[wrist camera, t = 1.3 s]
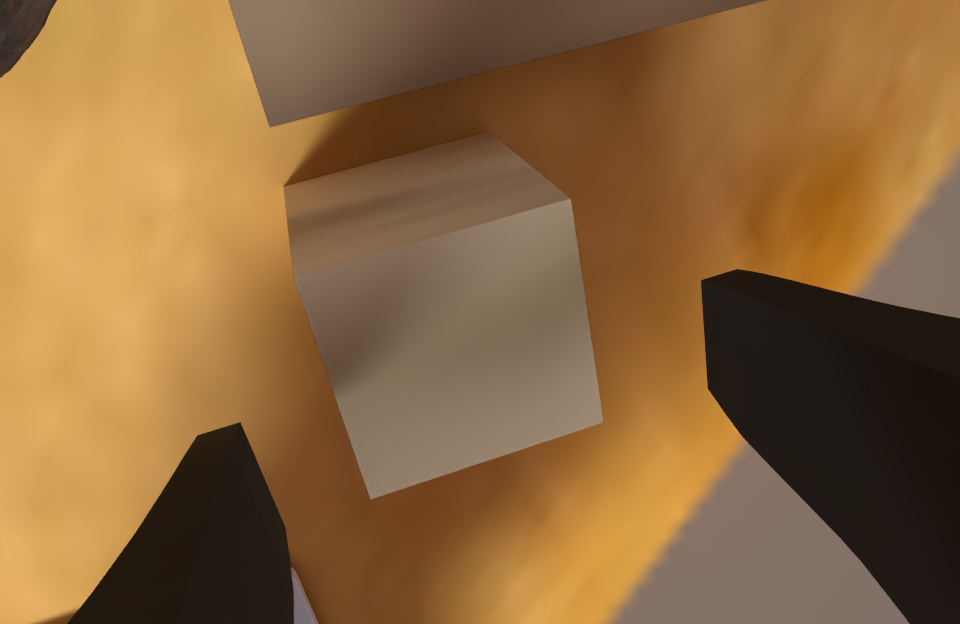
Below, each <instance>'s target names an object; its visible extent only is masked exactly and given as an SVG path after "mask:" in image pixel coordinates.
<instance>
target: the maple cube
mask: <svg viewBox="0 0 960 624" xmlns="http://www.w3.org/2000/svg"><path fill="white" fill-rule="evenodd" d="M283 189H284V198H285V206H286V215H287V224H288V232H289V241H290V250H291V258H292V267H293V275H294V280H295V283H296V286H297V288H298V291H299V294H300V297H301V300H302V303H303V306H304V309H305V312H306V314H307V317H308V320H309V323H310V326H311V329H312V332H313V335H314V338H315V341H316V343H317V346H318V349H319V352H320V355H321V358H322V361H323V364H324V367H325V369H326V372H327V375H328V378H329V381H330V384H331V387H332V390H333V393H334V395H335V398H336V401H337V404H338V407H339V410H340V413H341V416H342V419H343V422H344V424H345V427H346V430H347V433H348V436H349V439H350V442H351V445H352V448H353V450H354V453H355V456H356V459H357V462H358V465H359V468H360V471H361V474H362V477H363V479H364V482H365V485H366V488H367V491H368V494H369V497H370V500H371V499H374V498H377V497H380V496H383V495H386V494H389V493H392V492H395V491H398V490H401V489H404V488H407V487H410V486H413V485H416V484H419V483H422V482H425V481H428V480H431V479H434V478H438V477H441V476H444V475H447V474H450V473H453V472H456V471H459V470H462V469H465V468H468V467H471V466H474V465H477V464H480V463H483V462H486V461H489V460H492V459H495V458H498V457H501V456H504V455H507V454H510V453H513V452H516V451H519V450H522V449H525V448H528V447H531V446H534V445H537V444H540V443H543V442H546V441H549V440H552V439H555V438H558V437H562V436H565V435H568V434H571V433H574V432H577V431H580V430H583V429H586V428H589V427H592V426H595V425H598V424H601V423H604V422H603V415H602V408H601V401H600V394H599V388H598V381H597V374H596V367H595V360H594V353H593V347H592V340H591V333H590V326H589V319H588V312H587V306H586V299H585V292H584V285H583V278H582V271H581V265H580V258H579V251H578V244H577V237H576V231H575V224H574V217H573V210H572V203H571V198H570V197H568V196H567V195H566V194H565V193H564V192H562V191H561V190H560V189H559V188H557V187H556V186H555V185H554V184H553V183H551V182H550V181H549V180H548V179H546V178H545V177H544V176H543V175H542V174H540V173H539V172H538V171H537V170H535V169H534V168H533V167H532V166H531V165H529V164H528V163H527V162H526V161H524V160H523V159H522V158H521V157H520V156H518V155H517V154H516V153H515V152H514V151H512V150H511V149H510V148H509V147H507V146H506V145H505V144H504V143H503V142H501V141H500V140H499V139H498V138H496V137H495V136H494V135H493V134H492V133H490V132H489V131H488V132H485V133H481V134H477V135H473V136H470V137H466V138H462V139H459V140H455V141H451V142H447V143H444V144H440V145H436V146H432V147H429V148H425V149H421V150H418V151H414V152H410V153H406V154H403V155H399V156H395V157H392V158H388V159H384V160H380V161H377V162H373V163H369V164H366V165H362V166H358V167H354V168H351V169H347V170H343V171H340V172H336V173H332V174H328V175H325V176H321V177H317V178H313V179H310V180H306V181H302V182H299V183H295V184H291V185H287V186H284V187H283Z"/></svg>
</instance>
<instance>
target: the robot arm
mask: <svg viewBox="0 0 960 624" xmlns="http://www.w3.org/2000/svg"><path fill="white" fill-rule="evenodd" d="M701 287H702V303H703V319H704V334H705V350H706V366H707V382H708V389H709V391H710V392H711V394H712V395H713V396H714V398H715V399H716V401H717V402H718V404H719V405H720V407H721V408H722V409H723V411H724V412H725V414H726V415H727V417H728V418H729V419H730V421H731V422H732V423H733V425H734V426H735V427H736V429H737V430H738V431H739V433H740V434H741V435H742V437H743V438H744V439H745V440H746V441H747V442H748V443H749V444H750V445H751V446H752V447H753V448H754V449H755V450H756V451H757V452H758V454H759V455H760V456H761V457H762V458H763V459H764V460H765V461H766V462H767V463H768V464H769V465H770V466H771V467H772V468H773V469H774V470H775V471H776V472H777V473H778V474H779V476H781V478H782V479H783V480H784V481H785V482H786V483H787V484H788V485H789V486H790V487H791V488H792V489H793V490H794V491H795V492H796V493H797V494H798V495H799V496H800V497H801V498H802V499H803V500H804V501H805V502H806V503H807V504H808V505H809V506H810V507H811V508H812V509H813V510H814V511H815V512H816V513H817V514H818V515H819V517H821V518H822V520H823V521H824V522H825V523H826V524H827V525H828V526H829V527H830V528H831V529H832V530H833V531H834V532H835V533H836V534H837V535H838V536H839V537H840V538H841V539H842V540H843V542H844V543H845V544H846V545H847V546H848V547H849V548H850V549H851V551H852V552H853V553H854V554H855V555H856V556H857V557H858V558H859V559H860V560H861V562H862V563H863V564H864V566H865V567H866V568H867V569H868V571H869V572H870V573H871V575H873V577H874V578H875V580H876V581H877V582H878V583H879V585H880V586H881V587H882V588H883V590H884V591H885V592H886V593H887V595H888V596H889V597H890V599H891V600H892V601H893V602H894V604H895V605H896V606H897V608H898V609H899V610H900V611H901V613H902V614H903V615H904V616H905V618H906V619H907V621H908V622H909V623H910V624H960V318H955V317H949V316H944V315H938V314H934V313H929V312H924V311H919V310H914V309H909V308H904V307H899V306H895V305H890V304H885V303H881V302H877V301H872V300H868V299H864V298H860V297H856V296H852V295H848V294H844V293H839V292H836V291H832V290H828V289H824V288H820V287H816V286H812V285H808V284H804V283H800V282H796V281H792V280H788V279H784V278H780V277H775V276H771V275H767V274H762V273H757V272H752V271H745V270H738V269H736V270H733V271H730V272H727V273H723V274H720V275H717V276H714V277H710V278H707V279H704V280H701ZM67 624H319V623H318V621H317V619H316V616H315V614H314V612H313V609H312V607H311V605H310V603H309V600H308V598H307V596H306V593H305V591H304V589H303V586H302V584H301V582H300V579H299V577H298V575H297V572H296V571H295V570H294V569H293V568H292V567H291V565H290V557H289V550H288V543H287V536H286V530H285V526H284V524H283V521H282V519H281V517H280V514H279V512H278V509H277V507H276V505H275V502H274V500H273V498H272V495H271V493H270V491H269V488H268V486H267V484H266V481H265V479H264V477H263V474H262V472H261V470H260V467H259V465H258V463H257V460H256V458H255V456H254V453H253V451H252V448H251V446H250V444H249V441H248V439H247V437H246V434H245V432H244V430H243V427H242V425H241V423H236V424H233V425H230V426H227V427H223V428H220V429H217V430H214V431H210V432H207V433H204V434H201V435H198V436H197V437H196V439H195V440H194V442H193V443H192V445H191V446H190V448H189V449H188V451H187V453H186V454H185V456H184V457H183V459H182V461H181V462H180V464H179V466H178V467H177V469H176V470H175V472H174V474H173V475H172V477H171V479H170V480H169V482H168V483H167V485H166V487H165V488H164V490H163V491H162V493H161V494H160V496H159V498H158V499H157V501H156V502H155V504H154V505H153V507H152V508H151V510H150V511H149V513H148V515H147V516H146V518H145V519H144V521H143V522H142V524H141V525H140V527H139V528H138V530H137V531H136V533H135V534H134V536H133V537H132V539H131V540H130V541H129V543H128V544H127V545H126V547H125V548H124V550H123V551H122V552H121V554H120V555H119V557H118V558H117V559H116V561H115V562H114V563H113V565H112V566H111V568H110V569H109V570H108V572H107V573H106V574H105V576H104V577H103V579H102V580H101V581H100V583H99V584H98V586H97V587H96V588H95V590H94V591H93V592H92V594H91V595H90V596H89V597H88V599H87V600H86V601H85V603H84V604H83V605H82V606H81V608H80V609H79V610H78V611H77V612H76V614H75V615H74V616H73V617H72V619H71V620H70V621H69V622H68V623H67Z"/></svg>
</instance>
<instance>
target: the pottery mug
mask: <svg viewBox="0 0 960 624" xmlns="http://www.w3.org/2000/svg"><path fill="white" fill-rule="evenodd" d="M56 1H57V0H0V78H1V77H2V76H3V75H4V74H5V73H7V72H8V71H10V70H11V69H12V68H13V66H14V65H15V64H16V63H17V62H18V60H19V59H20V58H21V56H22V55H23V53H24V52H25V51H26V50H27V49H28V48H29V47H30V46H31V44H32V43H33V41H34V40H35V39H36V37H37V36H38V35H39V33H40V31H41V30H42V28H43V27H44V25H45V23H46V20H47V18H48V15H49V13H50V11H51V9H52V7H53V6H54V4H55V2H56Z"/></svg>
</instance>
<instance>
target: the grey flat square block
mask: <svg viewBox="0 0 960 624" xmlns="http://www.w3.org/2000/svg"><path fill="white" fill-rule="evenodd" d="M228 1H229V4H230V7H231V10H232V13H233V16H234V19H235V22H236V25H237V29H238V32H239V35H240V38H241V41H242V44H243V47H244V50H245V53H246V56H247V59H248V62H249V65H250V68H251V71H252V74H253V77H254V81H255V84H256V87H257V90H258V93H259V96H260V99H261V102H262V105H263V108H264V111H265V114H266V117H267V120H268V123H269V126H270V127H273V126H277V125H281V124H285V123H289V122H292V121H296V120H300V119H304V118H308V117H312V116H316V115H320V114H324V113H328V112H332V111H335V110H339V109H343V108H347V107H351V106H355V105H359V104H363V103H367V102H371V101H375V100H378V99H382V98H386V97H390V96H394V95H398V94H402V93H406V92H410V91H414V90H418V89H421V88H425V87H429V86H433V85H437V84H441V83H445V82H449V81H453V80H457V79H461V78H464V77H468V76H472V75H476V74H480V73H484V72H488V71H492V70H496V69H500V68H504V67H507V66H511V65H515V64H519V63H523V62H527V61H531V60H535V59H539V58H543V57H547V56H550V55H554V54H558V53H562V52H566V51H570V50H574V49H578V48H582V47H586V46H590V45H593V44H597V43H601V42H605V41H609V40H613V39H617V38H621V37H625V36H629V35H633V34H636V33H640V32H644V31H648V30H652V29H656V28H660V27H664V26H668V25H672V24H676V23H679V22H683V21H687V20H691V19H695V18H699V17H703V16H707V15H711V14H715V13H719V12H723V11H726V10H730V9H734V8H738V7H742V6H746V5H750V4H754V3H758V2H762V1H766V0H228Z"/></svg>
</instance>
